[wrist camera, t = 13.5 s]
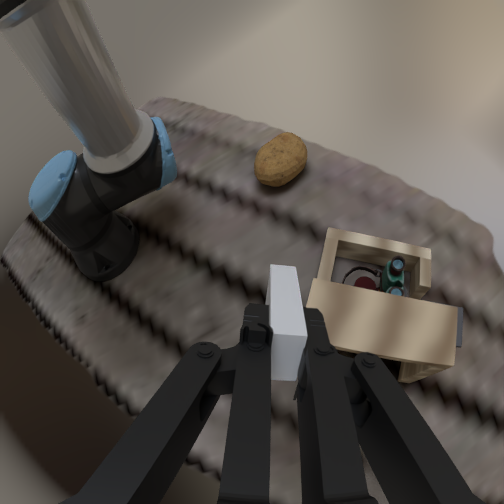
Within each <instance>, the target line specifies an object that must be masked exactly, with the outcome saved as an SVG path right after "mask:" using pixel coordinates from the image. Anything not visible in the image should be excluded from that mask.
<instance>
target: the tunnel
mask: <svg viewBox="0 0 504 504" xmlns="http://www.w3.org/2000/svg"><path fill="white" fill-rule="evenodd" d="M397 255H400V256H402V257H403V258H404V259H405V261H406V266H405V268H404V271H409V272H411V277H410V293H409V298H408V297H403V296H398V295H393V294H389V293H384V292H379V291H374V290H369V289H364V288H359V287H355V286H350V285H345V284H340V283H335V282H331V281H330V280H331V275H332V270H333V265H334V260H335V256H338V257H342V258H347V259H352V260H357V261H362V262H367V263H371V264H376V265H381V266H386V264H387V262H388V261H391V260H392V258H393V257H394V256H397ZM430 288H431V249H428V248H423V247H419V246H415V245H410V244H406V243H401V242H397V241H392V240H388V239H383V238H378V237H374V236H369V235H364V234H359V233H355V232H350V231H345V230H340V229H335V228H330V227H328V231H327V235H326V240H325V245H324V249H323V254H322V258H321V263H320V267H319V272H318V276H317V279H316V278H313V282H312V286H311V290H310V294H309V298H308V302H307V305H306V308H318V310H319V311H320V312H321V313H322V314H323V317H324V322H325V325H326V329H327V333H328V337H329V341H330V344H332V345H333V346H334V347H335V348H336V349H338V350H343V351H347V352H352V353H358V354H359V353H361V352H369V353H373V354H375V355H377V356H378V357H379V358H385V359H390V360H396V361H401V366H400V371H399V376H398V382H405V383H411V382H414V381H416V380H419V379H422V378H425V377H427V376H430V375H433V374H435V373H438V372H440V371H443V370H445V369H448V368H450V367H452V366H454V360H455V349H456V336H457V314H458V307H454V306H449V305H444V304H438V303H433V302H428V301H423V300H420V299H421V298H422V297H423V296H424V295H425V293H426V292H427V291H428V290H429V289H430Z"/></svg>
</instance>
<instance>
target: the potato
mask: <svg viewBox="0 0 504 504" xmlns="http://www.w3.org/2000/svg"><path fill="white" fill-rule="evenodd" d="M306 160H307V149H306V146H305V144H304V143H303V141H302V140H301V138H300V137H298V136H296V135H295V134H293V133H289V132H285V133H282V134H279V135H278V136H276V137H275V138H274V139H272V140H271V141H270V142H268V143H266V144H265V145H264V146H262V147H261V149H260V150H259V151H258V153H257V155H256V159H255V163H254V172H255V175H256V177H257V179H258V180H259V181H260V182H261V183H262V184H265V185H269V186H275V187H279V186H282V185H285V184H286V183H288V182H289V181H290V180H292V179H293V178H294V177H296V176H297V175H298V174H299V173H300V172H301V171H302V170H303V169H304V167H305V164H306Z"/></svg>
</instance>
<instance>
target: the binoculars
mask: <svg viewBox="0 0 504 504" xmlns="http://www.w3.org/2000/svg"><path fill="white" fill-rule="evenodd" d="M405 266H406V261H405V259H404V258H403V257H402V256H400V255H397V256H394V257H393V258H392V260H391V261H388V262H387V264H386V266H385V268H384V271H383V272H382V271H381V270H379V269H376V270H375V269H372V268H368V267H366V266H357V267H354V268H352V269H351V270H350V271H349V272H348V273H347V274H345V277H344V279H343V282H342V284H343V283H344V281H345V278H346V277H347V276H348V275H349V274H351V273H352V272H353V271H356V270H359V269H360V270H366V271H368V272H371V273H372V274H374V275H375V276H376V277H380V287H379V288H376V284H375V282H374V281H373V280H372V279H371V278H369V277H360V278H358V279H357V280H356V282H355V285H354V286H355V287H359V288H364V289H369V290H374V291H379V292H384V293H389V294H393V295H398V296H403V297H406V296H407V294H408V293H407V289H406V287H404V286H403V284H404V271H403V270H404V268H405ZM378 271H379V272H380V276H378V275H377V273H378Z"/></svg>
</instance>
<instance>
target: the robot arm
mask: <svg viewBox="0 0 504 504" xmlns="http://www.w3.org/2000/svg"><path fill="white" fill-rule="evenodd" d="M0 34H1V35H2V37H3V38H4V40H5V41H6V43H7V44H8V46H9V47H10V49H11V50H12V52H13V53H14V54H15V56H16V57H17V59H18V60H19V62H20V63H21V64H22V66H23V67H24V69H25V70H26V71H27V73H28V74H29V76H30V77H31V78H32V80H33V81H34V82H35V84H36V85H37V86H38V88H39V89H40V90H41V92H42V93H43V94H44V96H45V97H46V98H47V100H48V101H49V102H50V104H51V105H52V106H53V107H54V109H55V110H56V111H57V113H58V114H59V115H60V116H61V117H62V119H63V120H64V121H65V123H66V124H67V125H68V126H69V128H70V129H71V130H72V131H73V133H74V134H75V135H76V136H77V137H78V139H79V140H80V141H81V142H82V144H83V145H84V148H83V153H82V154H81V155H79V156H77V155H76V153H74V152H73V151H71V150H67V151H63V152H61V153H59V154H57V155H56V156H55V157H53V158H52V159H51V160H50V161H49V162H48V163H47V164H46V165H45V166H44V167H43V168H42V170H41V171H40V172H39V174H38V175H37V177H36V178H35V180H34V182H33V184H32V186H31V189H30V192H29V205H30V207H31V209H32V210H33V211H34V213H35V214H36V215H37V217H38V219H39V220H40V221H41V222H43V223H44V224H45V225H46V226H47V227H48V228H49V229H50V230H51V231H52V232H53V233H54V234H55V235H56V236H57V237H58V238H59V239H60V240H61V241H62V242H63V243H64V244H65V245H66V246H67V247H68V248H69V249H70V251H71V253H72V255H73V257H74V259H75V262H76V264H77V266H78V268H79V269H80V271H81V272H82V273H83V274H84V275H86V276H87V277H88V278H89V279H91V280H94V281H106V280H110V279H112V278H114V277H116V276H117V275H119V274H120V273H122V272H123V271H124V270H125V269H126V268H127V267H128V266H129V264H130V263H131V262H132V260H133V259H134V257H135V255H136V253H137V250H138V247H139V233H138V230H137V228H136V227H135V225H134V224H133V223H132V221H131V220H130V219H129V218H127V217H126V216H124V215H122V214H121V213H119V212H117V211H116V209H118V208H120V207H122V206H124V205H126V204H128V203H130V202H132V201H134V200H136V199H138V198H140V197H142V196H144V195H147V194H149V193H151V192H153V191H155V190H160V189H161V188H162V187H163V186H165V185H167V184H169V183H171V182H172V181H173V180H174V179H175V178H176V175H177V167H176V162H175V158H174V154H173V151H172V148H171V144H170V140H169V137H168V134H167V131H166V129H165V126H164V124H163V122H162V120H161V119H160V118H159V117H154V118H150V117H149V116H148V115H147V114H146V113H145V112H143V111H141V110H137V109H134V107H133V105H132V102H131V100H130V98H129V96H128V94H127V92H126V90H125V88H124V86H123V83H122V81H121V79H120V77H119V75H118V72H117V70H116V68H115V66H114V64H113V62H112V59H111V57H110V55H109V53H108V50H107V48H106V46H105V44H104V41H103V39H102V37H101V34H100V32H99V30H98V28H97V25H96V23H95V20H94V18H93V16H92V13H91V11H90V8H89V6H88V4H87V1H86V0H0ZM297 375H298V385H297V388H296V391H295V395H294V399H293V400H296V397H297V406H298V422H299V440H300V459H301V483H302V504H378V501H377V500H376V499H375V498H374V497H372V496H370V495H369V494H368V490H367V484H366V479H365V473H364V468H363V462H362V457H361V452H360V447H359V444H360V446H361V448H362V450H363V452H364V454H365V456H366V458H367V460H368V462H369V464H370V466H371V468H372V470H373V472H374V474H375V476H376V478H377V480H378V482H379V484H380V486H381V488H382V490H383V492H384V494H385V496H386V498H387V500H388V502H389V504H486V503H485V502H483V501H482V500H481V499H479V498H478V497H477V496H475V495H474V494H473V493H472V492H471V490H470V488H469V487H468V485H467V484H466V482H465V480H464V479H463V477H462V476H461V474H460V473H459V471H458V469H457V468H456V466H455V465H454V463H453V462H452V460H451V459H450V457H449V456H448V454H447V453H446V451H445V450H444V448H443V447H442V445H441V444H440V442H439V441H438V439H437V438H436V436H435V435H434V433H433V432H432V430H431V429H430V427H429V426H428V424H427V423H426V421H425V420H424V419H423V417H422V416H421V414H420V413H419V411H418V410H417V409H416V407H415V406H414V404H413V403H412V401H411V400H410V399H409V397H408V396H407V394H406V393H405V392H404V390H403V389H402V387H401V386H400V385H399V383H398V382H397V380H396V379H395V378H394V376H393V375H392V373H391V372H390V371H389V369H388V368H387V367H386V365H385V364H384V362H383V361H382V360H381V359H380V358H379V357H378V356H377V355H375V354H373V353H369V352H361V353H359V354H357V355H356V356H355V358H350V357H346V356H343V355H340V354H339V353H338V352H337V350H336V348H335V347H334V346H333V345H332V344H330V341H329V337H328V333H327V329H326V325H325V322H324V317H323V314H322V313H321V312H320V311H319V310H318V308H306V307H303V306H302V300H301V294H300V289H299V283H298V277H297V272H296V267H293V266H283V265H273V264H270V273H269V281H268V289H267V297H266V305H263V304H252V303H249V305H248V306H247V307H246V308H245V311H244V319H243V325H242V327H241V330H240V342H239V343H238V344H237V345H236V346H234V347H232V348H228V349H220V348H219V347H218V346H217V345H216V344H213V343H211V342H199V343H196V344H194V345H192V346H191V347H190V348H189V350H188V351H187V352H186V354H185V355H184V356H183V358H182V359H181V360H180V362H179V363H178V364H177V366H176V367H175V368H174V369H173V371H172V372H171V373H170V375H169V376H168V377H167V379H166V380H165V381H164V383H163V384H162V385H161V387H160V388H159V389H158V391H157V392H156V393H155V394H154V396H153V397H152V398H151V400H150V401H149V402H148V404H147V405H146V406H145V408H144V409H143V410H142V411H141V413H140V414H139V415H138V417H137V418H136V419H135V421H134V422H133V423H132V424H131V426H130V427H129V428H128V430H127V431H126V432H125V434H124V435H123V436H122V438H121V439H120V440H119V441H118V443H117V444H116V445H115V446H114V448H113V449H112V450H111V452H110V453H109V454H108V456H107V457H106V458H105V459H104V461H103V462H102V463H101V465H100V466H99V467H98V469H97V470H96V471H95V472H94V474H93V475H92V476H91V477H90V479H89V480H88V481H87V483H86V484H85V485H84V486H83V488H82V489H81V490H80V492H79V493H78V494H76V495H74V496H72V497H70V498H68V499H66V500H65V501H63V502H61V503H59V504H159V503H160V502H161V500H162V498H163V497H164V495H165V493H166V491H167V490H168V488H169V486H170V485H171V483H172V481H173V480H174V478H175V476H176V474H177V473H178V471H179V469H180V468H181V466H182V464H183V463H184V461H185V459H186V457H187V456H188V454H189V452H190V450H191V448H192V447H193V445H194V443H195V441H196V440H197V438H198V436H199V434H200V432H201V431H202V429H203V427H204V425H205V423H206V422H207V420H208V418H209V416H210V414H211V412H212V410H213V409H214V407H215V405H216V403H217V401H218V399H219V397H220V395H224V394H231V393H233V395H232V402H231V409H230V417H229V424H228V431H227V439H226V446H225V453H224V461H223V468H222V475H221V483H220V490H219V497H218V501H217V504H270V503H269V480H270V431H271V380H285V381H296V379H297Z"/></svg>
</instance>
